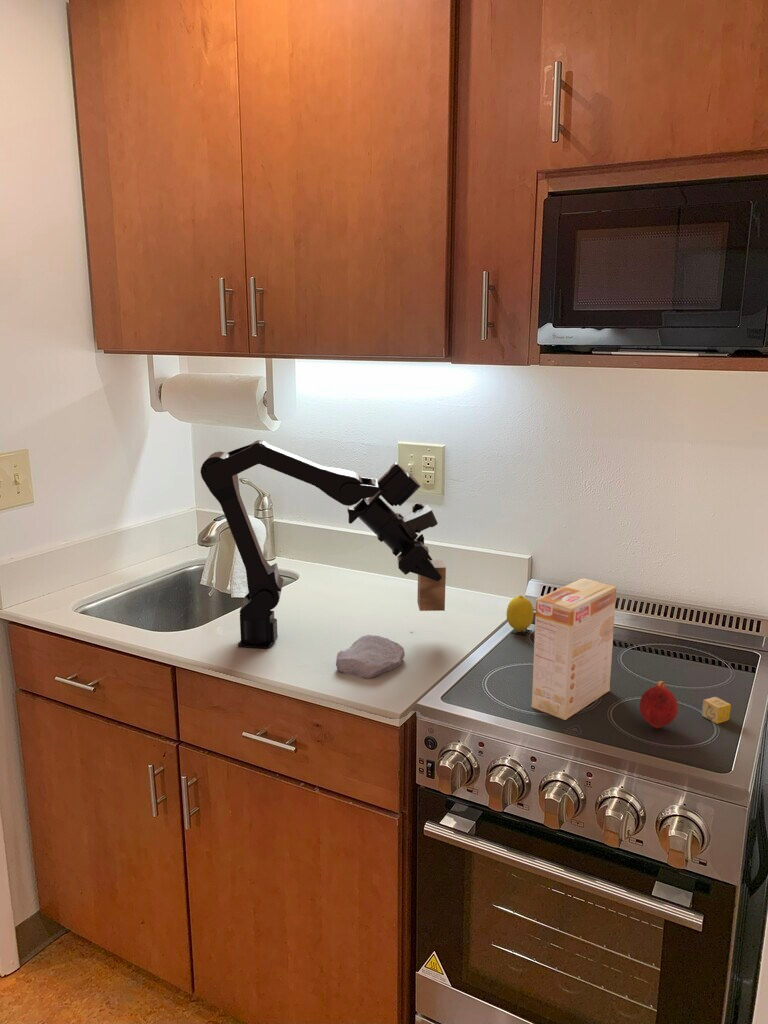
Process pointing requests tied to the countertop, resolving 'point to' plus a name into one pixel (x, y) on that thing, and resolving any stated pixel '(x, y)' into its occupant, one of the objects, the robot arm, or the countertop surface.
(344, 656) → the lilac crinkled slab
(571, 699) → the coffeecake box
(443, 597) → the walnut block
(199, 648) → the countertop surface
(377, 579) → the countertop surface
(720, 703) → the alphabet block
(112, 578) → the countertop surface
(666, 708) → the onion
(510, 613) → the lemon
